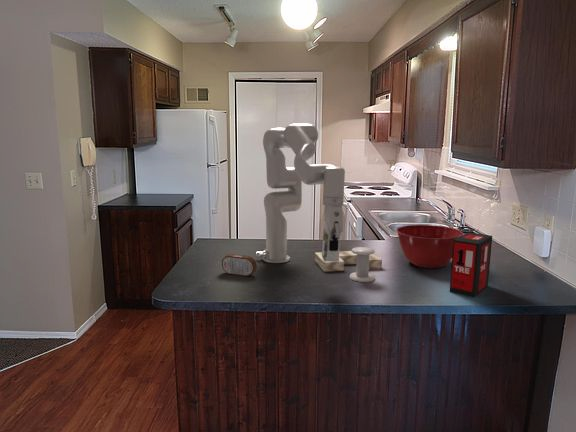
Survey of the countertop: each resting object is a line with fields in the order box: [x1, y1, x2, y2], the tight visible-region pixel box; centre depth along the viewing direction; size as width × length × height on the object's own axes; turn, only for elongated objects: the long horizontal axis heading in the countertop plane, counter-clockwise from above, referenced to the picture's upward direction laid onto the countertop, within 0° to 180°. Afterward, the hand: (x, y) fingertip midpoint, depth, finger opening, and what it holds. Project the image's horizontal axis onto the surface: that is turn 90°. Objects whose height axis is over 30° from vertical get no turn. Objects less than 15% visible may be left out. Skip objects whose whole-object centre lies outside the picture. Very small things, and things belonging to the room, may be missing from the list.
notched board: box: [314, 250, 383, 272], centre depth 202 cm, size 26×16×4 cm, turn 101°
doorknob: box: [349, 246, 376, 283], centre depth 183 cm, size 10×10×12 cm
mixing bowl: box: [396, 224, 464, 269], centre depth 203 cm, size 28×28×15 cm
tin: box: [221, 253, 258, 277], centre depth 187 cm, size 15×3×8 cm, turn 71°
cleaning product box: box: [449, 232, 493, 298], centre depth 171 cm, size 16×9×20 cm, turn 140°
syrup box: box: [321, 220, 342, 262], centre depth 169 cm, size 6×6×14 cm
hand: (331, 247), depth 169 cm, fingers closed on syrup box, 6 cm apart
